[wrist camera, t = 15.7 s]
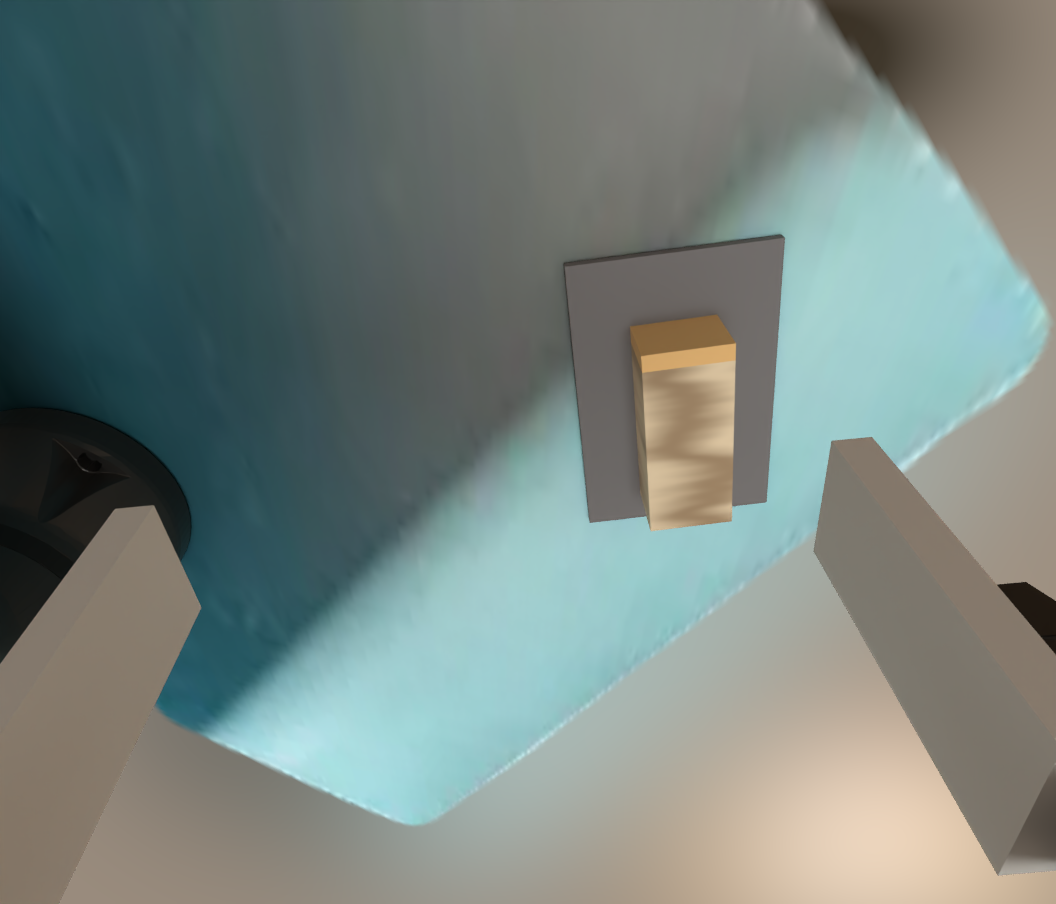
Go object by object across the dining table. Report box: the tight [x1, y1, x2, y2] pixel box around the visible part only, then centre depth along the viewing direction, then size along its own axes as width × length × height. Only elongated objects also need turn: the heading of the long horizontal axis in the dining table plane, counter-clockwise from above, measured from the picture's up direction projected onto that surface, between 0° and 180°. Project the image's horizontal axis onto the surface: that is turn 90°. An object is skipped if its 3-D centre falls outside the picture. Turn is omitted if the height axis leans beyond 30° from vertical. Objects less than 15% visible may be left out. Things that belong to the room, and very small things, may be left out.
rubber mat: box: [564, 235, 785, 523], centre depth 44 cm, size 12×18×1 cm, turn 7°
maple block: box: [630, 315, 736, 531], centre depth 43 cm, size 5×4×12 cm
